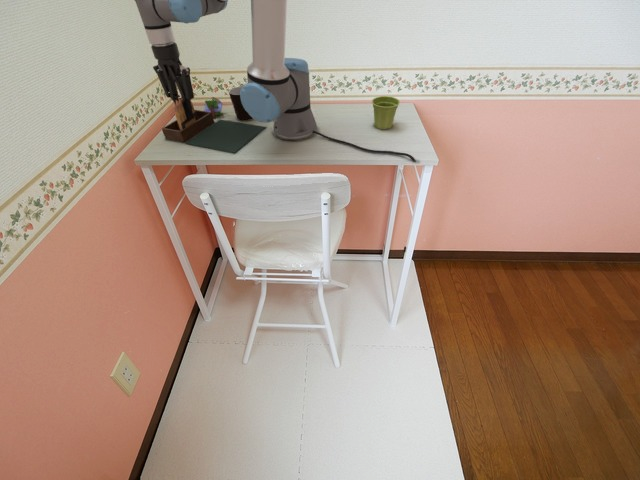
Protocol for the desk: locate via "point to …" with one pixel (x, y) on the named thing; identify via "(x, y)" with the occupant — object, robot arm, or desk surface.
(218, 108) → the geometric puzzle
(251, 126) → the desk mat
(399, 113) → the desk surface
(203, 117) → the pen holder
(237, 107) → the coffee mug
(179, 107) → the ammunition clip
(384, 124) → the plant pot
